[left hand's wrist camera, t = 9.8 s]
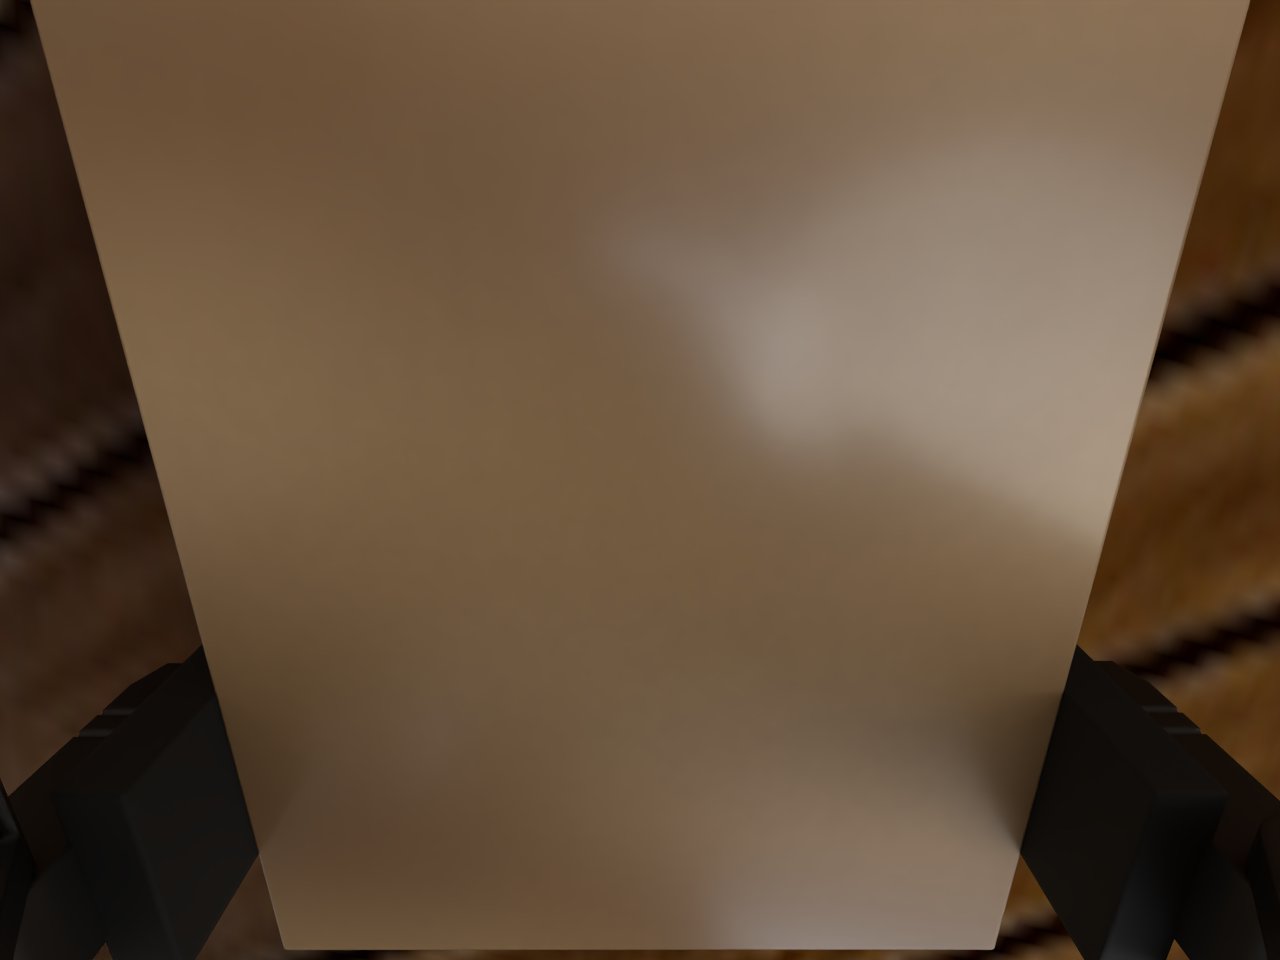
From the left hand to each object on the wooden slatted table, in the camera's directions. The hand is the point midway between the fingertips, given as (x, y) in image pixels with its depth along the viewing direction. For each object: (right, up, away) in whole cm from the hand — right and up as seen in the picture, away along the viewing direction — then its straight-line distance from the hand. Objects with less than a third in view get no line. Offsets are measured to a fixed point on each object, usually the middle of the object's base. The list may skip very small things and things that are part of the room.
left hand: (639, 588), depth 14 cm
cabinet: (0, +8, +1) cm, 8 cm away
